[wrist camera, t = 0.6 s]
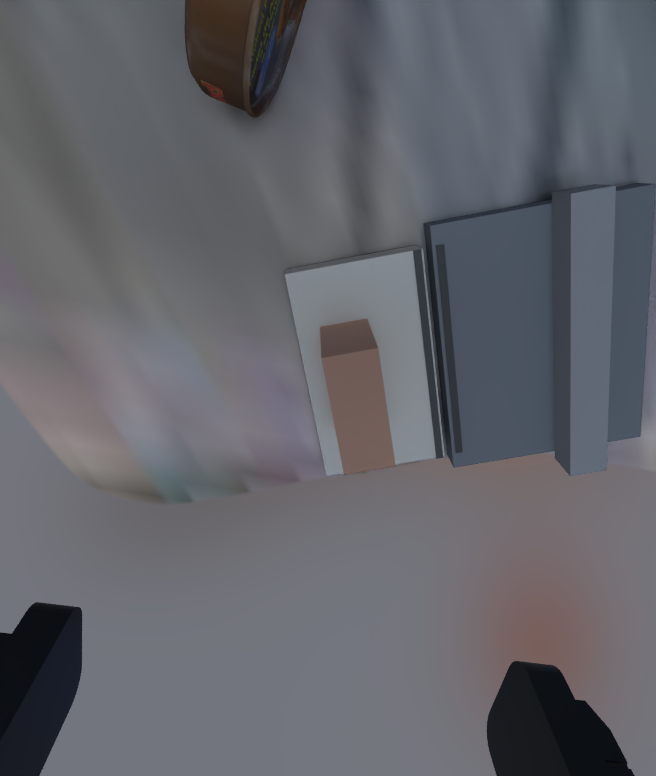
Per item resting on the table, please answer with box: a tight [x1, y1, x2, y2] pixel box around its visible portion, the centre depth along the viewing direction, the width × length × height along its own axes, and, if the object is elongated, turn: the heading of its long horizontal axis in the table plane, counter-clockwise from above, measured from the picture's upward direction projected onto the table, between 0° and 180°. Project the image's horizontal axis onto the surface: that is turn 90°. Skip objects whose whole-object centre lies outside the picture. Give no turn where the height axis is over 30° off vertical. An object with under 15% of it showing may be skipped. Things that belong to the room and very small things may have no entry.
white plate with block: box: [285, 245, 445, 476], centre depth 27 cm, size 7×12×6 cm, turn 10°
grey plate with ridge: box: [424, 183, 656, 476], centre depth 28 cm, size 11×15×4 cm
